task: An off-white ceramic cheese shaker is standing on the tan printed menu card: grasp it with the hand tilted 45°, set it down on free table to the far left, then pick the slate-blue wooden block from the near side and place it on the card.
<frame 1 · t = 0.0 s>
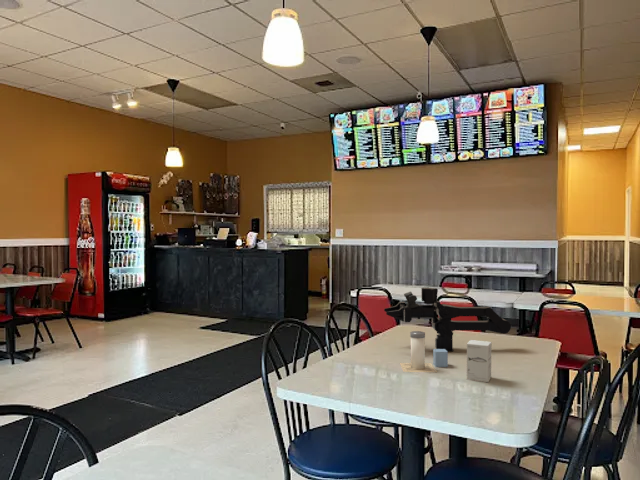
hand: (385, 311, 212), 17 cm above the table, tool horizontal, fingers open, 9 cm apart
letter card: (417, 368, 182), on the table
shaker: (417, 367, 182), resting on letter card
blue block: (440, 366, 185), on the table
supplement box: (479, 379, 169), on the table
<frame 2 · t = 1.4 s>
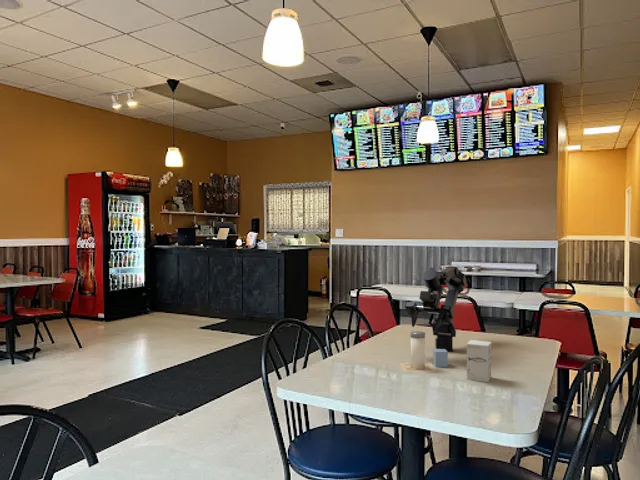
hand: (424, 327, 189), 14 cm above the table, tool tilted 45°, fingers open, 9 cm apart
nothing on the table moved.
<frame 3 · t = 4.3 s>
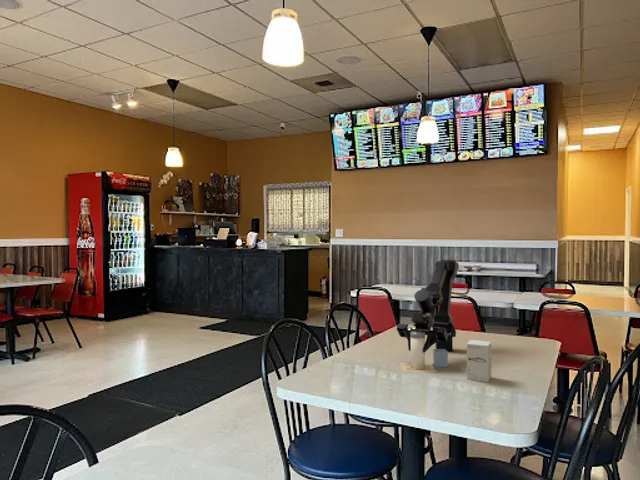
hand: (416, 351, 181), 7 cm above the table, tool tilted 45°, fingers closed on shaker, 5 cm apart
shaker: (417, 367, 182), resting on letter card, touching gripper
everything else where it was.
when the fingers open (7 cm above the table, at t = 8.3 s): shaker drops 1 cm, on the table.
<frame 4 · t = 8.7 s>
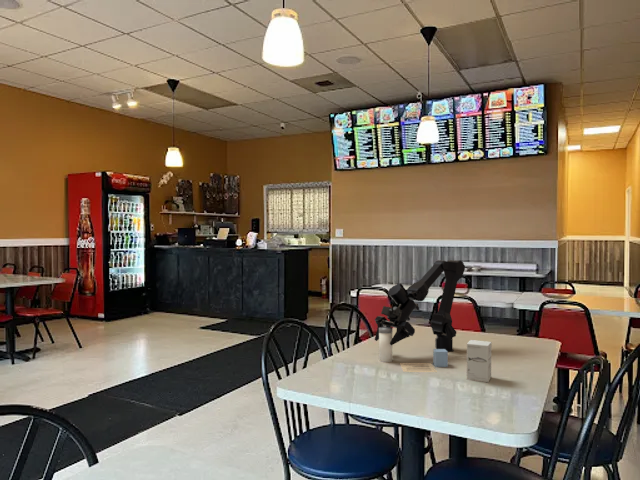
hand: (382, 342, 192), 8 cm above the table, tool tilted 45°, fingers open, 9 cm apart
shaker: (385, 360, 193), on the table
everything else where it was.
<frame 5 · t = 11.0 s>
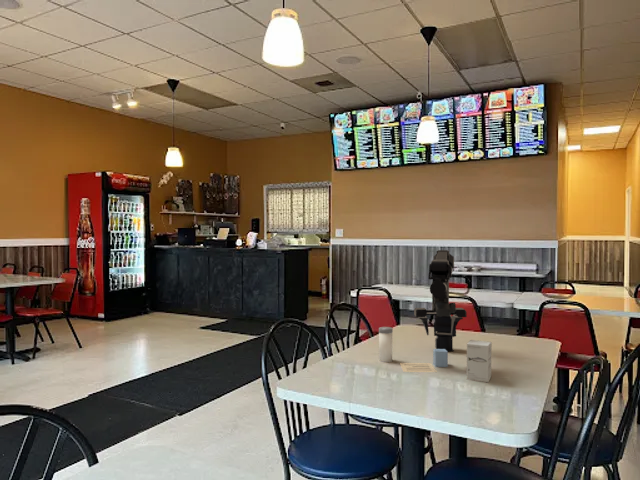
hand: (439, 335, 185), 12 cm above the table, tool pointing down, fingers open, 9 cm apart
nothing on the table moved.
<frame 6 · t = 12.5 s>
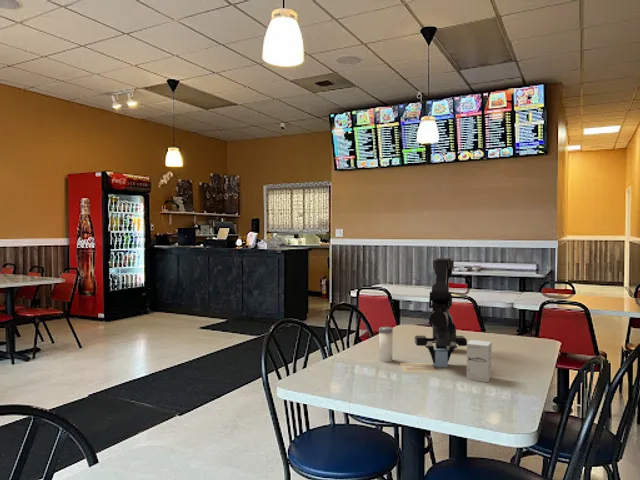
hand: (440, 363, 185), 1 cm above the table, tool pointing down, fingers closed on blue block, 4 cm apart
blue block: (440, 366, 185), on the table, touching gripper
everything else where it was.
when the fingers open (3 cm above the table, at t = 16.3 s): blue block drops 2 cm, resting on letter card.
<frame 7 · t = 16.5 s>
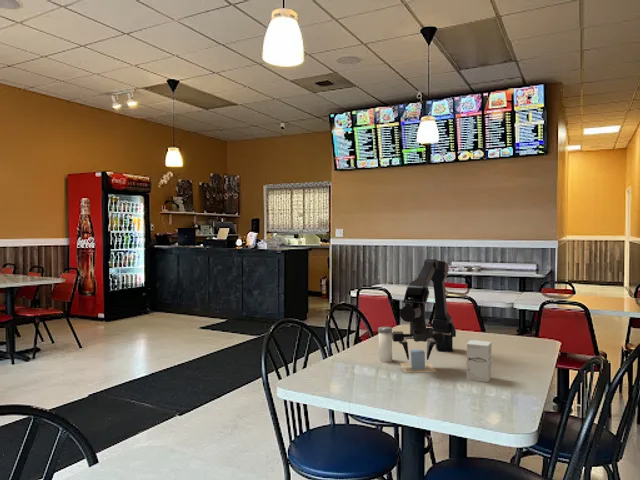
hand: (417, 359, 182), 3 cm above the table, tool pointing down, fingers open, 7 cm apart
blue block: (417, 367, 182), resting on letter card
everything else where it was.
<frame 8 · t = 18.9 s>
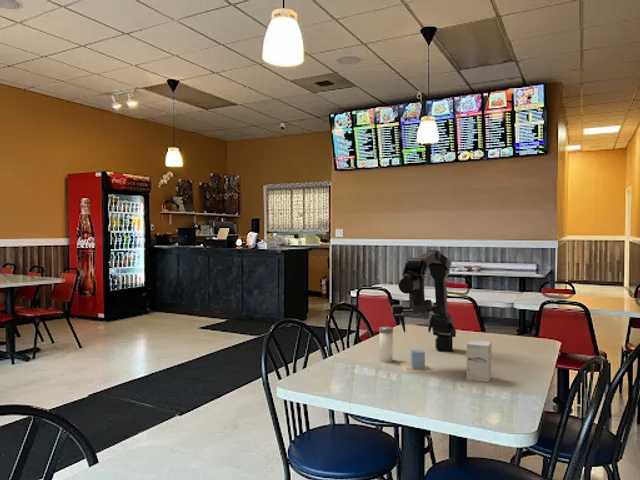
hand: (416, 332, 184), 13 cm above the table, tool pointing down, fingers open, 9 cm apart
nothing on the table moved.
at the end: blue block inside the target area on the letter card (0.0 cm from its centre), point 0.3 cm above the letter card's base; shaker touching table; shaker tilted 1° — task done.
